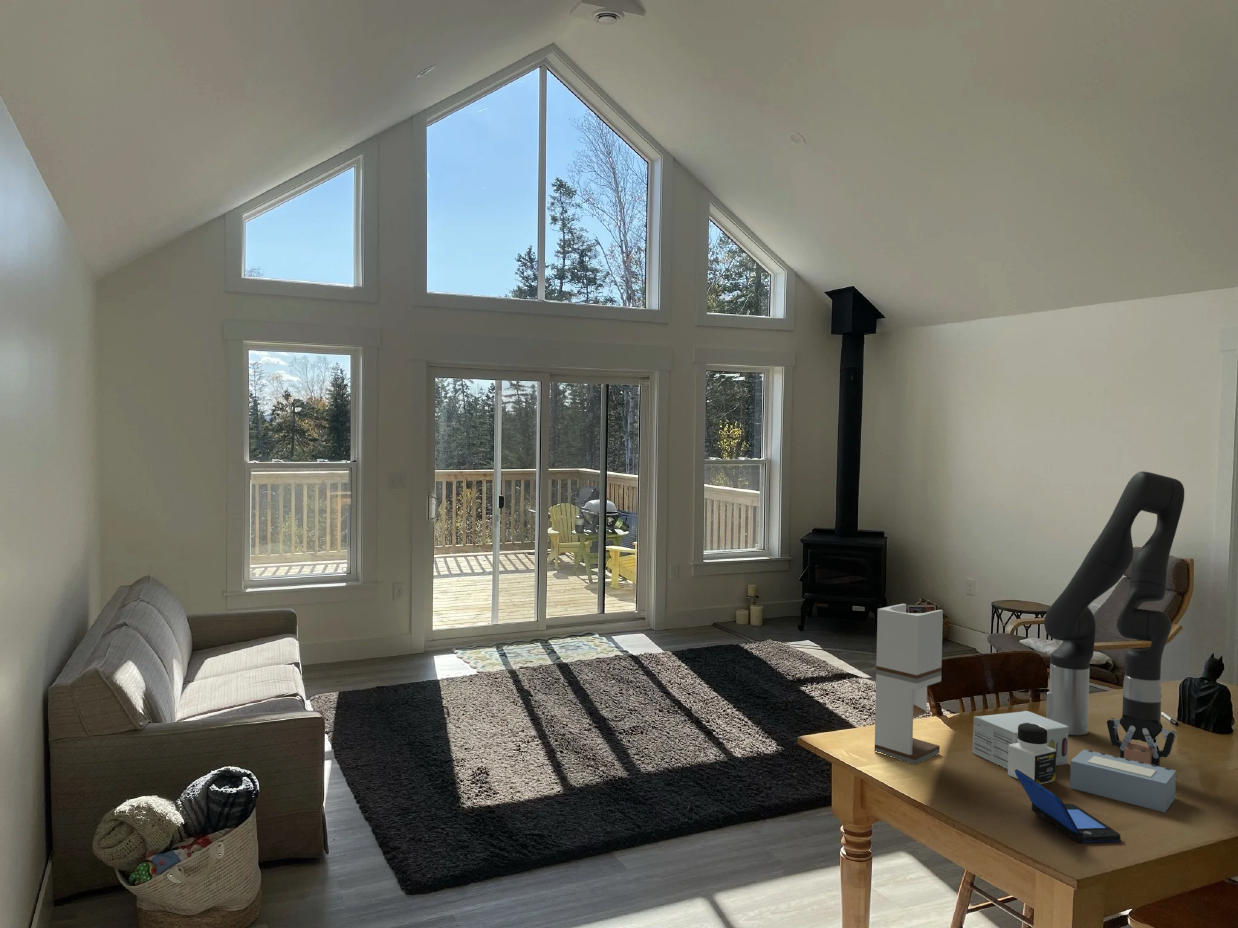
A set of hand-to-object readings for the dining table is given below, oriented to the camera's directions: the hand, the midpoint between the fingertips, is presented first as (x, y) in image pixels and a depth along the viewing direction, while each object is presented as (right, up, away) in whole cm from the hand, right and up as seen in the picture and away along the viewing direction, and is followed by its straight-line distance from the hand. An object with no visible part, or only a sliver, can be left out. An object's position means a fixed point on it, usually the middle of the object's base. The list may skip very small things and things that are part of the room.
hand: (1139, 769), depth 200 cm
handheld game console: (-31, -2, -28) cm, 42 cm away
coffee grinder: (-50, 0, +11) cm, 51 cm away
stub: (0, -1, 0) cm, 1 cm away
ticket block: (-11, -1, -12) cm, 16 cm away
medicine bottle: (-27, -1, -4) cm, 27 cm away
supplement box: (-24, -1, +9) cm, 25 cm away
